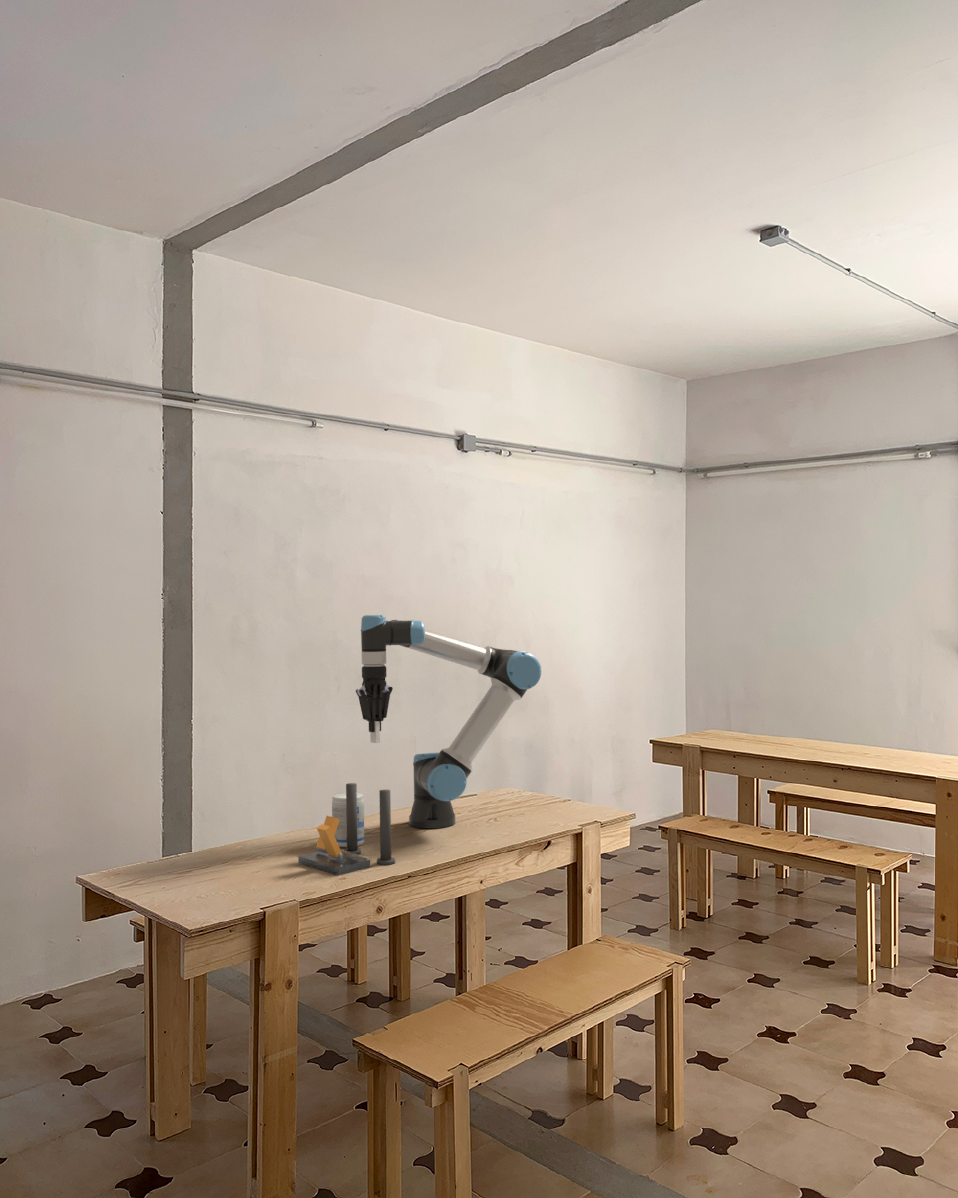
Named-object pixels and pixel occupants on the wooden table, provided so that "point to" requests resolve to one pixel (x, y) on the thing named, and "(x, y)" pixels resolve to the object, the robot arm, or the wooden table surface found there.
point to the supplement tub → (340, 813)
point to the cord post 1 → (351, 818)
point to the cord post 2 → (385, 829)
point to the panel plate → (335, 862)
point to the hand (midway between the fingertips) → (375, 742)
